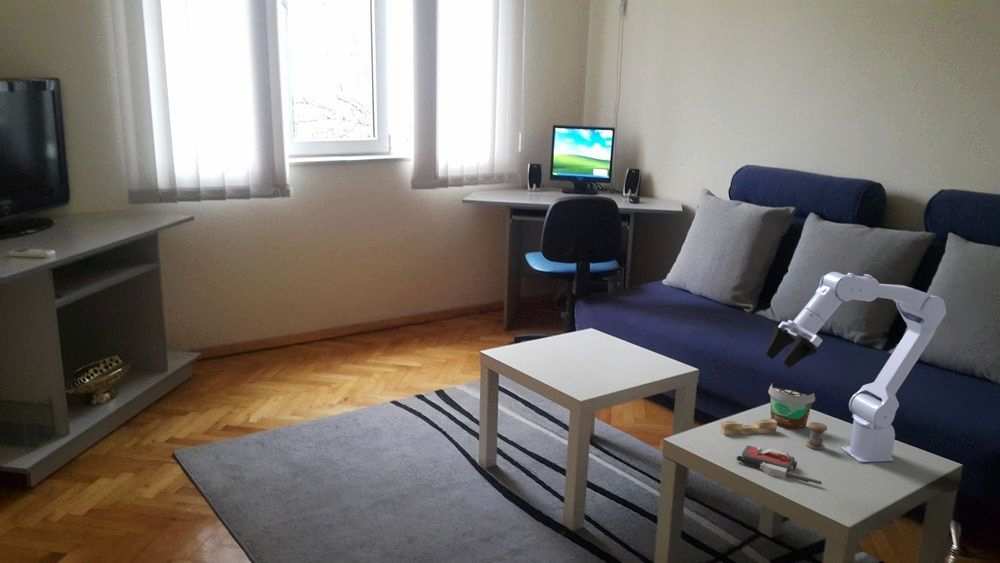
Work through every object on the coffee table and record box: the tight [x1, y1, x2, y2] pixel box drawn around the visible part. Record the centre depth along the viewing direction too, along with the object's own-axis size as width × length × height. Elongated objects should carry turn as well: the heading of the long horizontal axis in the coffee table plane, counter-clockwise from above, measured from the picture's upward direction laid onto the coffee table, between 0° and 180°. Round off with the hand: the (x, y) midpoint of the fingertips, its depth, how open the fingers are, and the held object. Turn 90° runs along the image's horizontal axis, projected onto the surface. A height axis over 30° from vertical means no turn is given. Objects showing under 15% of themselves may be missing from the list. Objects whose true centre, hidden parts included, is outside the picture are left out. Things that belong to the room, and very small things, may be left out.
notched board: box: [719, 418, 778, 436], centre depth 206 cm, size 15×2×3 cm, turn 100°
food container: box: [768, 383, 816, 430], centre depth 210 cm, size 12×6×10 cm, turn 55°
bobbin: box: [805, 421, 828, 451], centre depth 198 cm, size 4×4×6 cm
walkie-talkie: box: [736, 445, 823, 485], centre depth 186 cm, size 9×4×20 cm
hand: (777, 360), depth 181 cm, fingers open, 7 cm apart
